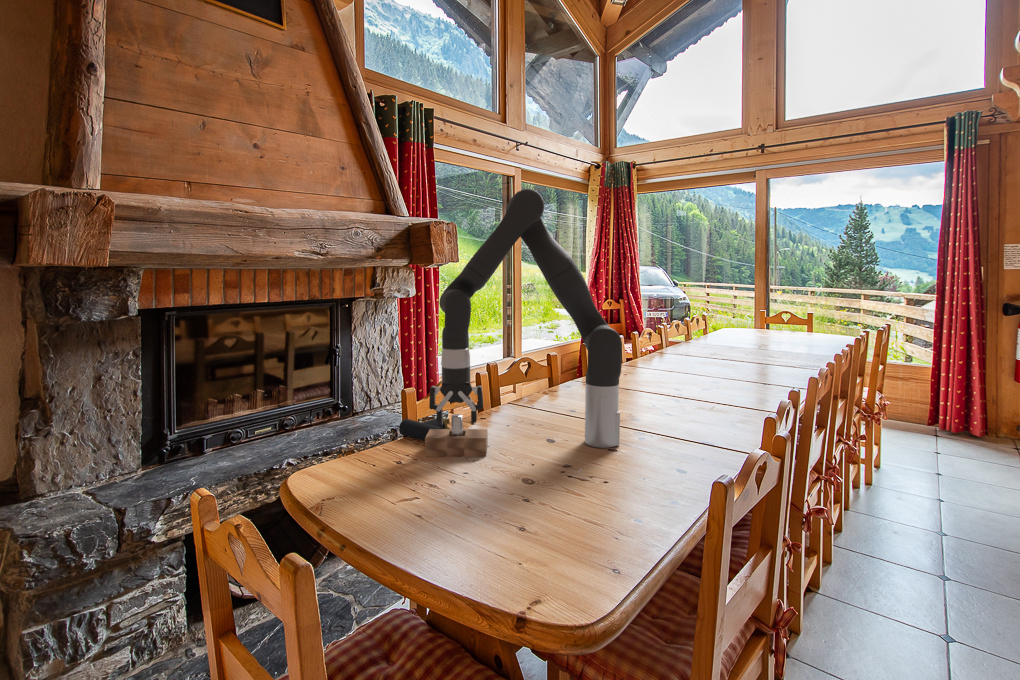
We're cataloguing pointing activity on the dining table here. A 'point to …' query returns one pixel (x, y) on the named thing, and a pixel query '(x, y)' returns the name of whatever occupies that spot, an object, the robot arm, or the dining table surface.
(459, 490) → the dining table surface
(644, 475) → the dining table surface
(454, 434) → the pin
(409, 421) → the pipe connector
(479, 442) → the socket block
